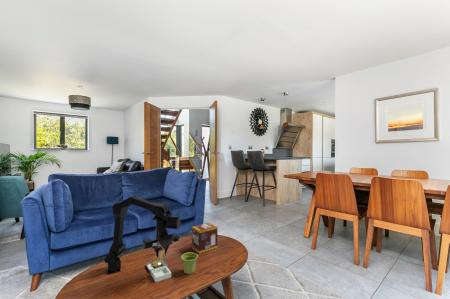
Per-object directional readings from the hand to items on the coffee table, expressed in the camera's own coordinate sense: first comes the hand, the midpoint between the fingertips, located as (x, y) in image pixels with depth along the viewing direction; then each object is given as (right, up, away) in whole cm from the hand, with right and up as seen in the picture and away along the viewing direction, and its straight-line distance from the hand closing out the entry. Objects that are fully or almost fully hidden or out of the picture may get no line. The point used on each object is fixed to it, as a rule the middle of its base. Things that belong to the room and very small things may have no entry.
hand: (161, 256), depth 121 cm
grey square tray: (-5, -11, +9) cm, 15 cm away
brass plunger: (-5, -10, +9) cm, 14 cm away
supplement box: (+21, -12, +35) cm, 42 cm away
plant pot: (+15, -11, +5) cm, 19 cm away
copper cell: (0, -2, 0) cm, 2 cm away
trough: (0, -11, 0) cm, 11 cm away
